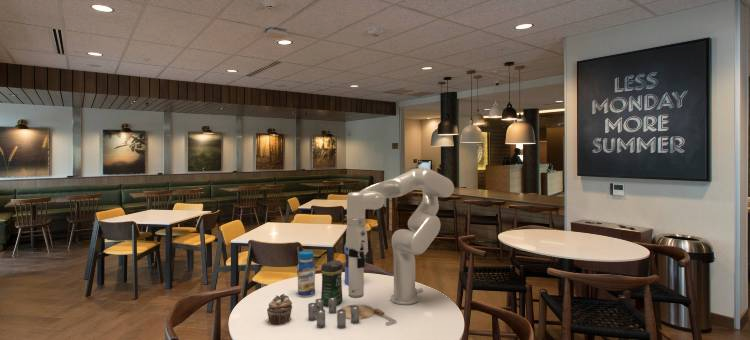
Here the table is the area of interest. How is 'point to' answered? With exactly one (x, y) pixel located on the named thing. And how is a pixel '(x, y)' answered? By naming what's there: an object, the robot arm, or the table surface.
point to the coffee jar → (331, 281)
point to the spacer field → (319, 313)
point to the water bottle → (346, 267)
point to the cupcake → (279, 310)
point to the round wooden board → (363, 311)
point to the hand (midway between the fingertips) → (356, 265)
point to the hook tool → (385, 316)
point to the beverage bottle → (306, 274)
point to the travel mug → (355, 276)
